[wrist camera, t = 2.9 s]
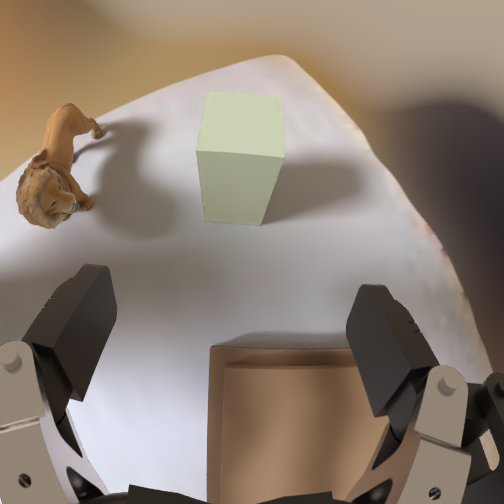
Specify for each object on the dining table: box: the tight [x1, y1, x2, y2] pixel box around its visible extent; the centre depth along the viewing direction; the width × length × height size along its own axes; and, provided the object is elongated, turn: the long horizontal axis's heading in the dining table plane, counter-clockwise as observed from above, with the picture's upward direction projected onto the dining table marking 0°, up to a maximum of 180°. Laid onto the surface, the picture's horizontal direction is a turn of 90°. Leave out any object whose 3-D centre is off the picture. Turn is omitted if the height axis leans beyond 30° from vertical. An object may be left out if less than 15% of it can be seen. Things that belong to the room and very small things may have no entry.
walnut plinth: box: [207, 346, 389, 504], centre depth 17 cm, size 14×16×5 cm
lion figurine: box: [16, 103, 102, 229], centre depth 19 cm, size 15×5×9 cm, turn 16°
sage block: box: [196, 92, 285, 226], centre depth 20 cm, size 4×4×10 cm
